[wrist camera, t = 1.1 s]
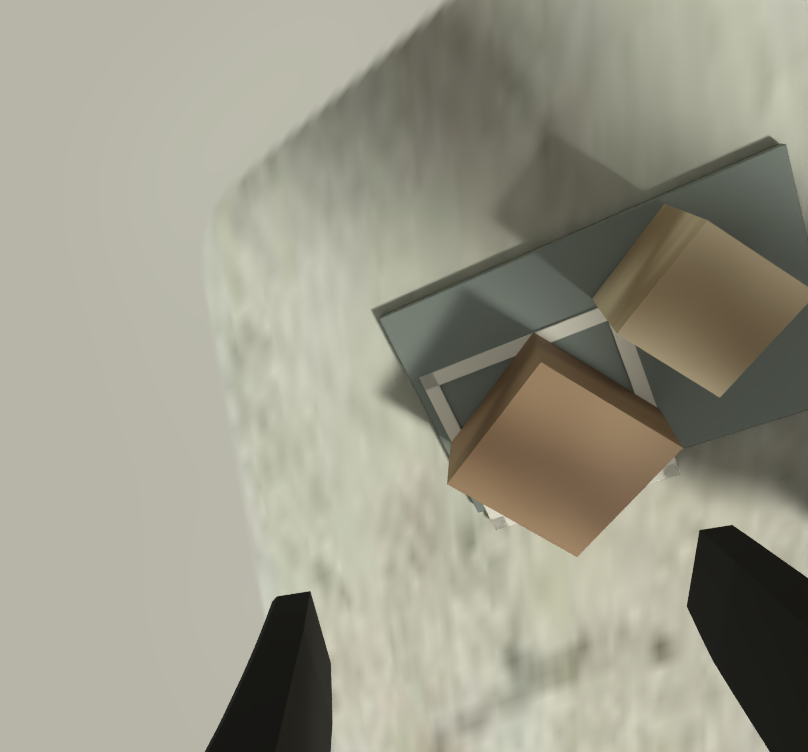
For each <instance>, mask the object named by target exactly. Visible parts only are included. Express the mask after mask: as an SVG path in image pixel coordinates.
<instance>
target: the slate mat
mask: <svg viewBox="0 0 808 752" xmlns="http://www.w3.org/2000/svg"><path fill="white" fill-rule="evenodd" d="M664 204H667V205H670V206H672V207H675V208H677V209H680V210H682V211H685V212H688V213H690V214H693V215H695V216H698V217H701V218H703V219H706V220H708V221H709V222H711V223H713V224H714V225H716V226H717V227H719V228H720V229H722V230H723V231H725V232H726V233H728V234H729V235H731V236H732V237H734V238H735V239H737V240H738V241H740V242H741V243H743V244H744V245H746V246H747V247H749V248H750V249H752V250H753V251H755V252H756V253H758V254H759V255H761V256H762V257H764V258H765V259H767V260H768V261H770V262H771V263H773V264H774V265H776V266H777V267H779V268H780V269H782V270H783V271H785V272H786V273H788V274H789V275H791V276H792V277H794V278H795V279H797V280H798V281H800V282H801V283H803V284H804V285H806V286H807V287H808V239H807V235H806V230H805V226H804V222H803V217H802V213H801V208H800V204H799V200H798V195H797V191H796V186H795V182H794V178H793V173H792V169H791V164H790V160H789V156H788V151H787V147H786V144H778V145H776V146H773V147H771V148H769V149H766V150H764V151H762V152H760V153H757V154H755V155H753V156H750V157H748V158H746V159H743V160H741V161H739V162H736V163H734V164H732V165H729V166H727V167H725V168H723V169H720V170H718V171H716V172H713V173H711V174H709V175H706V176H704V177H702V178H699V179H697V180H695V181H692V182H690V183H688V184H686V185H683V186H681V187H679V188H676V189H674V190H672V191H669V192H667V193H665V194H662V195H660V196H658V197H655V198H653V199H651V200H648V201H646V202H644V203H642V204H639V205H637V206H635V207H632V208H630V209H628V210H625V211H623V212H621V213H618V214H616V215H614V216H611V217H609V218H607V219H605V220H602V221H600V222H598V223H595V224H593V225H591V226H588V227H586V228H584V229H581V230H579V231H577V232H574V233H572V234H570V235H567V236H565V237H563V238H561V239H558V240H556V241H554V242H551V243H549V244H547V245H544V246H542V247H540V248H537V249H535V250H533V251H530V252H528V253H526V254H524V255H521V256H519V257H517V258H514V259H512V260H510V261H507V262H505V263H503V264H500V265H498V266H496V267H493V268H491V269H489V270H487V271H484V272H482V273H480V274H477V275H475V276H473V277H470V278H468V279H466V280H463V281H461V282H459V283H456V284H454V285H452V286H449V287H447V288H445V289H443V290H440V291H438V292H436V293H433V294H431V295H429V296H426V297H424V298H422V299H419V300H417V301H415V302H412V303H410V304H408V305H406V306H403V307H401V308H399V309H396V310H394V311H392V312H389V313H387V314H385V315H382V316H381V317H380V319H379V320H380V321H381V323H382V325H383V327H384V329H385V331H386V333H387V335H388V337H389V339H390V341H391V343H392V345H393V347H394V349H395V351H396V353H397V355H398V357H399V359H400V361H401V363H402V365H403V366H404V368H405V370H406V372H407V374H408V376H409V378H410V380H411V382H412V384H413V386H414V388H415V390H416V392H417V394H418V396H419V398H420V400H421V402H422V404H423V406H424V408H425V409H426V411H427V413H428V415H429V417H430V419H431V421H432V423H433V425H434V427H435V429H436V431H437V433H438V435H439V437H440V439H441V441H442V443H443V445H444V447H445V449H446V451H447V452H448V454H449V456H450V445H451V442H452V441H453V440H454V438H455V437H456V436H457V434H458V433H459V432H460V430H461V429H462V428H463V426H464V425H465V423H466V422H467V421H468V419H469V418H470V417H471V415H472V414H473V413H474V411H475V410H476V409H477V407H478V406H479V405H480V403H481V402H482V401H483V399H484V398H485V397H486V395H487V394H488V393H489V391H490V390H491V388H492V387H493V386H494V384H495V383H496V382H497V380H498V379H499V378H500V376H501V375H502V374H503V372H504V371H505V370H506V368H507V367H508V366H509V364H510V363H511V362H512V360H513V359H514V358H515V356H516V355H517V353H518V352H519V351H520V349H521V348H522V347H523V345H524V344H525V343H526V341H527V340H528V339H529V337H530V336H531V335H532V333H533V332H534V333H536V334H538V335H539V336H541V337H543V338H544V339H546V340H548V341H549V342H551V343H552V344H554V345H556V346H557V347H559V348H561V349H562V350H564V351H566V352H567V353H569V354H570V355H572V356H574V357H575V358H577V359H579V360H580V361H582V362H584V363H585V364H587V365H589V366H590V367H592V368H593V369H595V370H597V371H598V372H600V373H602V374H603V375H605V376H607V377H608V378H610V379H611V380H613V381H615V382H616V383H618V384H620V385H621V386H623V387H625V388H626V389H628V390H630V391H631V392H633V393H634V394H636V395H638V396H639V397H641V398H643V399H644V400H646V401H648V402H649V403H651V404H652V405H654V406H656V407H657V408H659V409H660V411H661V412H662V414H663V416H664V417H665V419H666V421H667V422H668V424H669V426H670V427H671V429H672V430H673V432H674V434H675V435H676V437H677V439H678V440H679V442H680V444H681V445H682V447H683V448H687V447H690V446H693V445H696V444H699V443H703V442H706V441H709V440H712V439H715V438H719V437H722V436H725V435H728V434H731V433H735V432H738V431H741V430H744V429H747V428H751V427H754V426H757V425H760V424H763V423H767V422H770V421H773V420H776V419H779V418H783V417H786V416H789V415H792V414H795V413H799V412H802V411H805V410H808V304H807V305H806V306H805V307H804V308H803V309H802V310H801V311H800V312H799V313H798V314H797V315H796V316H795V318H794V319H793V320H792V321H791V322H790V323H789V324H788V325H787V326H786V327H785V328H784V329H783V330H782V332H781V333H780V334H779V335H778V336H777V337H776V338H775V339H774V340H773V341H772V342H771V343H770V344H769V345H768V347H767V348H766V349H765V350H764V351H763V352H762V353H761V354H760V355H759V356H758V357H757V358H756V359H755V360H754V362H753V363H752V364H751V365H750V366H749V367H748V368H747V369H746V370H745V371H744V372H743V373H742V374H741V375H740V377H739V378H738V379H737V380H736V381H735V382H734V383H733V384H732V385H731V386H730V387H729V388H728V389H727V390H726V392H725V393H724V394H723V395H722V396H721V397H718V396H716V395H715V394H713V393H711V392H710V391H708V390H707V389H705V388H703V387H702V386H700V385H699V384H697V383H695V382H694V381H692V380H691V379H689V378H687V377H686V376H684V375H683V374H681V373H679V372H678V371H676V370H675V369H673V368H671V367H670V366H668V365H666V364H665V363H663V362H662V361H660V360H658V359H657V358H655V357H654V356H652V355H650V354H649V353H647V352H646V351H644V350H642V349H641V348H639V347H638V346H636V345H634V344H633V343H631V342H629V341H628V340H626V339H625V338H623V337H621V336H620V335H618V334H617V333H616V332H615V330H614V329H613V328H612V326H611V325H610V323H609V322H608V321H607V319H606V318H605V316H604V315H603V314H602V312H601V311H600V310H599V308H598V307H597V305H596V304H595V303H594V301H593V300H592V298H593V297H594V296H595V294H596V293H597V292H598V290H599V289H600V288H601V286H602V285H603V284H604V282H605V281H606V280H607V278H608V277H609V276H610V274H611V273H612V272H613V271H614V269H615V268H616V267H617V265H618V264H619V263H620V261H621V260H622V259H623V257H624V256H625V255H626V253H627V252H628V251H629V249H630V248H631V247H632V245H633V244H634V243H635V242H636V240H637V239H638V238H639V236H640V235H641V234H642V232H643V231H644V230H645V228H646V227H647V226H648V224H649V223H650V222H651V220H652V219H653V218H654V216H655V215H656V214H657V212H658V211H659V210H660V209H661V207H662V206H663V205H664ZM677 475H680V471H679V468H678V465H677V462H676V460H675V457H674V458H673V459H672V460H671V461H670V462H669V463H668V464H667V465H666V466H665V467H664V468H663V469H662V470H661V471H660V472H659V473H658V474H657V475H656V476H655V477H654V478H653V479H652V481H651V482H650V483H653V482H657V481H660V480H663V479H667V478H670V477H673V476H677ZM650 483H649V484H650ZM471 499H472V501H473V503H474V505H475V507H476V509H477V511H478V512H482V511H485V510H486V511H487V513H488V515H489V517H490V519H491V521H492V523H493V525H494V527H495V529H496V530H497V529H500V528H504V527H507V526H510V525H514V524H517V523H516V522H514V521H512V520H510V519H509V518H507V517H505V516H503V515H502V514H500V513H498V512H496V511H494V510H493V509H491V508H489V507H487V506H485V505H484V504H482V503H480V502H478V501H477V500H475V499H473V498H471Z"/></svg>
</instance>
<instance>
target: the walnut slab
mask: <svg viewBox="0 0 808 752" xmlns="http://www.w3.org/2000/svg"><path fill="white" fill-rule="evenodd" d="M682 449H683V447H682V445H681V444H680V442H679V440H678V439H677V437H676V435H675V434H674V432H673V430H672V429H671V427H670V426H669V424H668V422H667V421H666V419H665V417H664V416H663V414H662V412H661V411H660V409H659V408H657V407H656V406H654V405H652V404H651V403H649V402H648V401H646V400H644V399H643V398H641V397H639V396H638V395H636V394H634V393H633V392H631V391H630V390H628V389H626V388H625V387H623V386H621V385H620V384H618V383H616V382H615V381H613V380H611V379H610V378H608V377H607V376H605V375H603V374H602V373H600V372H598V371H597V370H595V369H593V368H592V367H590V366H589V365H587V364H585V363H584V362H582V361H580V360H579V359H577V358H575V357H574V356H572V355H570V354H569V353H567V352H566V351H564V350H562V349H561V348H559V347H557V346H556V345H554V344H552V343H551V342H549V341H548V340H546V339H544V338H543V337H541V336H539V335H538V334H536V333H534V332H533V333H532V335H531V336H530V337H529V339H528V340H527V341H526V343H525V344H524V345H523V347H522V348H521V349H520V351H519V352H518V353H517V355H516V356H515V358H514V359H513V360H512V362H511V363H510V364H509V366H508V367H507V368H506V370H505V371H504V372H503V374H502V375H501V376H500V378H499V379H498V380H497V382H496V383H495V384H494V386H493V387H492V388H491V390H490V391H489V393H488V394H487V395H486V397H485V398H484V399H483V401H482V402H481V403H480V405H479V406H478V407H477V409H476V410H475V411H474V413H473V414H472V415H471V417H470V418H469V419H468V421H467V422H466V423H465V425H464V426H463V428H462V429H461V430H460V432H459V433H458V434H457V436H456V437H455V438H454V440H453V441H452V442H451V445H450V457H449V469H448V481H447V484H448V485H450V486H452V487H453V488H455V489H457V490H459V491H461V492H462V493H464V494H466V495H468V496H469V497H471V498H473V499H475V500H477V501H478V502H480V503H482V504H484V505H485V506H487V507H489V508H491V509H493V510H494V511H496V512H498V513H500V514H502V515H503V516H505V517H507V518H509V519H510V520H512V521H514V522H516V523H518V524H519V525H521V526H523V527H525V528H526V529H528V530H530V531H532V532H534V533H535V534H537V535H539V536H541V537H542V538H544V539H546V540H548V541H550V542H551V543H553V544H555V545H557V546H558V547H560V548H562V549H564V550H566V551H567V552H569V553H571V554H573V555H574V556H576V557H578V555H579V554H580V553H581V552H582V551H583V550H584V549H585V548H586V547H587V546H588V545H589V544H590V543H591V542H592V541H593V540H594V539H595V538H596V537H597V536H598V535H599V534H600V533H601V532H602V531H603V530H604V529H605V528H606V527H607V526H608V525H609V524H610V523H611V522H612V521H613V520H614V519H615V517H616V516H617V515H618V514H619V513H620V512H621V511H622V510H623V509H624V508H625V507H626V506H627V505H628V504H629V503H630V502H631V501H632V500H633V499H634V498H635V497H636V496H637V495H638V494H639V493H640V492H641V491H642V490H643V489H644V488H645V487H646V486H647V485H648V484H649V483H650V482H651V481H652V479H653V478H654V477H655V476H656V475H657V474H658V473H659V472H660V471H661V470H662V469H663V468H664V467H665V466H666V465H667V464H668V463H669V462H670V461H671V460H672V459H673V458H674V457H675V456H676V455H677V454H678V453H679V452H680V451H681V450H682Z"/></svg>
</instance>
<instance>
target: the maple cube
mask: <svg viewBox="0 0 808 752" xmlns="http://www.w3.org/2000/svg"><path fill="white" fill-rule="evenodd" d="M592 300H593V301H594V303H595V304H596V305H597V307H598V308H599V310H600V311H601V312H602V314H603V315H604V316H605V318H606V319H607V321H608V322H609V323H610V325H611V326H612V328H613V329H614V330H615V332H616V333H617V334H618V335H620V336H621V337H623V338H625V339H626V340H628V341H629V342H631V343H633V344H634V345H636V346H638V347H639V348H641V349H642V350H644V351H646V352H647V353H649V354H650V355H652V356H654V357H655V358H657V359H658V360H660V361H662V362H663V363H665V364H666V365H668V366H670V367H671V368H673V369H675V370H676V371H678V372H679V373H681V374H683V375H684V376H686V377H687V378H689V379H691V380H692V381H694V382H695V383H697V384H699V385H700V386H702V387H703V388H705V389H707V390H708V391H710V392H711V393H713V394H715V395H716V396H718V397H721V396H722V395H723V394H724V393H725V392H726V390H727V389H728V388H729V387H730V386H731V385H732V384H733V383H734V382H735V381H736V380H737V379H738V378H739V377H740V375H741V374H742V373H743V372H744V371H745V370H746V369H747V368H748V367H749V366H750V365H751V364H752V363H753V362H754V360H755V359H756V358H757V357H758V356H759V355H760V354H761V353H762V352H763V351H764V350H765V349H766V348H767V347H768V345H769V344H770V343H771V342H772V341H773V340H774V339H775V338H776V337H777V336H778V335H779V334H780V333H781V332H782V330H783V329H784V328H785V327H786V326H787V325H788V324H789V323H790V322H791V321H792V320H793V319H794V318H795V316H796V315H797V314H798V313H799V312H800V311H801V310H802V309H803V308H804V307H805V306H806V305H807V304H808V287H807V286H806V285H804V284H803V283H801V282H800V281H798V280H797V279H795V278H794V277H792V276H791V275H789V274H788V273H786V272H785V271H783V270H782V269H780V268H779V267H777V266H776V265H774V264H773V263H771V262H770V261H768V260H767V259H765V258H764V257H762V256H761V255H759V254H758V253H756V252H755V251H753V250H752V249H750V248H749V247H747V246H746V245H744V244H743V243H741V242H740V241H738V240H737V239H735V238H734V237H732V236H731V235H729V234H728V233H726V232H725V231H723V230H722V229H720V228H719V227H717V226H716V225H714V224H713V223H711V222H709V221H708V220H706V219H703V218H701V217H698V216H695V215H693V214H690V213H688V212H685V211H682V210H680V209H677V208H675V207H672V206H670V205H667V204H664V205H663V206H662V207H661V209H660V210H659V211H658V212H657V214H656V215H655V216H654V218H653V219H652V220H651V222H650V223H649V224H648V226H647V227H646V228H645V230H644V231H643V232H642V234H641V235H640V236H639V238H638V239H637V240H636V242H635V243H634V244H633V245H632V247H631V248H630V249H629V251H628V252H627V253H626V255H625V256H624V257H623V259H622V260H621V261H620V263H619V264H618V265H617V267H616V268H615V269H614V271H613V272H612V273H611V274H610V276H609V277H608V278H607V280H606V281H605V282H604V284H603V285H602V286H601V288H600V289H599V290H598V292H597V293H596V294H595V296H594V297H593V298H592Z"/></svg>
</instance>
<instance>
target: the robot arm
mask: <svg viewBox="0 0 808 752" xmlns="http://www.w3.org/2000/svg"><path fill="white" fill-rule="evenodd" d="M687 608H688V610H689V612H690V614H691V616H692V618H693V620H694V623H695V625H696V627H697V629H698V631H699V633H700V635H701V638H702V640H703V642H704V644H705V646H706V648H707V650H708V652H709V654H710V656H711V658H712V660H713V662H714V663H715V665H716V666H717V668H718V670H719V671H720V673H721V675H722V676H723V678H724V680H725V681H726V683H727V684H728V686H729V688H730V689H731V691H732V692H733V694H734V696H735V697H736V699H737V700H738V702H739V704H740V705H741V707H742V708H743V710H744V712H745V713H746V715H747V716H748V718H749V719H750V721H751V723H752V724H753V726H754V727H755V729H756V731H757V732H758V734H759V735H760V737H761V738H762V740H763V742H764V743H765V745H766V746H767V748H768V749H769V751H770V752H808V578H807V577H806V576H804V575H803V574H801V573H800V572H798V571H797V570H796V569H794V568H793V567H791V566H790V565H788V564H787V563H786V562H784V561H783V560H781V559H780V558H779V557H777V556H776V555H774V554H773V553H772V552H770V551H769V550H767V549H766V548H764V547H763V546H762V545H760V544H759V543H757V542H756V541H755V540H753V539H752V538H750V537H749V536H747V535H746V534H745V533H743V532H742V531H740V530H739V529H737V528H736V527H734V526H733V525H730V526H723V527H717V528H711V529H704V530H700V531H699V537H698V543H697V549H696V555H695V561H694V567H693V573H692V579H691V585H690V591H689V597H688V602H687ZM331 736H332V687H331V662H330V659H329V655H328V652H327V648H326V645H325V641H324V638H323V634H322V631H321V627H320V624H319V620H318V617H317V613H316V610H315V606H314V603H313V599H312V596H311V592H310V591H309V592H303V593H296V594H290V595H284V596H277V597H276V598H275V599H274V600H273V602H272V604H271V607H270V609H269V612H268V615H267V617H266V620H265V623H264V625H263V628H262V630H261V633H260V635H259V638H258V640H257V643H256V645H255V648H254V650H253V652H252V654H251V657H250V659H249V661H248V664H247V666H246V668H245V671H244V673H243V675H242V677H241V680H240V682H239V684H238V686H237V688H236V690H235V692H234V694H233V696H232V699H231V701H230V703H229V705H228V707H227V709H226V711H225V713H224V716H223V718H222V720H221V722H220V724H219V726H218V728H217V730H216V732H215V733H214V736H213V737H212V739H211V741H210V743H209V745H208V747H207V749H206V750H205V752H330V751H331Z"/></svg>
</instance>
